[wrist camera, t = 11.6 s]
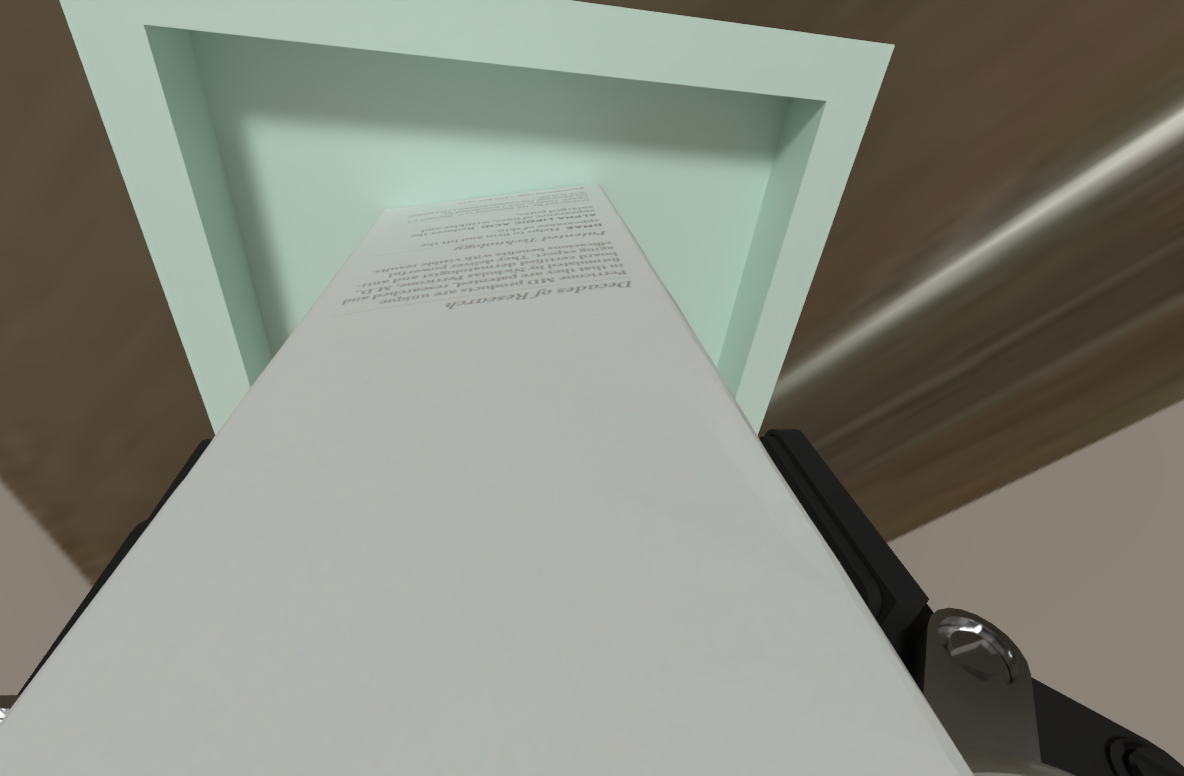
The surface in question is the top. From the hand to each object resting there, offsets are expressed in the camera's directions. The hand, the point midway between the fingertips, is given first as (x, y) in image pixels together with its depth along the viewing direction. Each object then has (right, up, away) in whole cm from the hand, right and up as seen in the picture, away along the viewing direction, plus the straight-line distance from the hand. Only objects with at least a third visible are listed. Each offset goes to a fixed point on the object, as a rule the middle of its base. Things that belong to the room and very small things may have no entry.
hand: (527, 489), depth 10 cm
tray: (-1, +4, +6) cm, 8 cm away
